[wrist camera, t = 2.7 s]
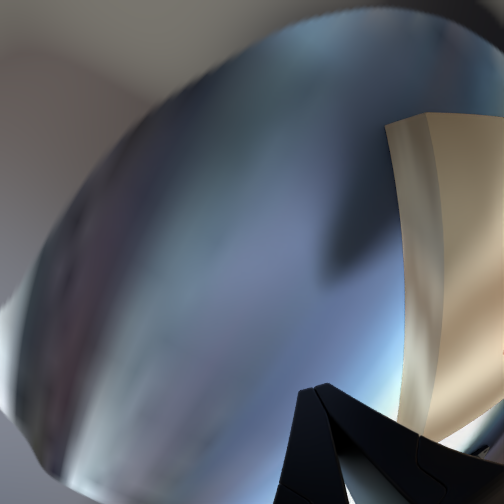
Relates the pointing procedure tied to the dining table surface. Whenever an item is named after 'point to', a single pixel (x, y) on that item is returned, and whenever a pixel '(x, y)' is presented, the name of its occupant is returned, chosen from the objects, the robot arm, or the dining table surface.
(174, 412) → the dining table surface
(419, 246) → the birch plate
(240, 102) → the dining table surface
